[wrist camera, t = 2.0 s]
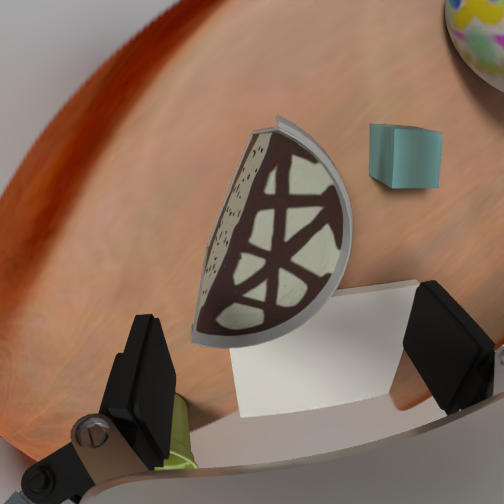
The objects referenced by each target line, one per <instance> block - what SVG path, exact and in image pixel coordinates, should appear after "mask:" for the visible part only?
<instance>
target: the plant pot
mask: <svg viewBox="0 0 504 504" xmlns="http://www.w3.org/2000/svg"><path fill="white" fill-rule="evenodd" d="M196 468H198V465H197V464H196V462H195V461H194V456H193V454H192V452H191V445H190V435H189V424H188V410H187V406H186V403H185V401H184V400H183V399H182V398H181V397H180V396H178V395H177V394H175V397H174V407H173V418H172V430H171V442H170V455H169V459H164V468H161V467H155V471H157V470H174V469H196Z"/></svg>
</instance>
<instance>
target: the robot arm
mask: <svg viewBox="0 0 504 504" xmlns="http://www.w3.org/2000/svg"><path fill="white" fill-rule="evenodd" d="M494 346H495V343H494V342H493V341H492V340H491V339H490V338H489V337H488V335H487V334H486V333H485V332H484V331H483V330H482V329H481V328H480V326H479V325H478V324H477V323H476V322H475V321H474V320H473V319H472V318H471V317H470V316H469V314H468V313H467V312H466V311H465V310H464V309H463V308H462V307H461V306H460V305H459V304H458V303H457V302H456V301H455V300H454V299H453V298H452V297H451V296H450V295H449V293H448V292H447V291H446V290H445V289H444V288H443V287H442V286H441V285H440V284H439V283H438V282H437V281H435V280H432V281H426V282H422V283H420V285H419V287H417V288H416V291H415V296H414V300H413V304H412V308H411V312H410V316H409V320H408V324H407V327H406V331H405V334H404V338H403V347H404V350H405V351H406V353H407V354H408V356H409V358H410V359H411V361H412V362H413V364H414V366H415V367H416V369H417V370H418V372H419V374H420V375H421V377H422V378H423V380H424V382H425V383H426V385H427V387H428V388H429V390H430V392H431V393H432V395H433V397H434V398H435V400H436V402H437V404H438V405H439V407H440V408H441V409H442V410H445V412H446V414H447V416H446V417H444V418H441V419H439V420H437V421H434V422H431V423H428V424H426V425H423V426H421V427H417V428H415V429H412V430H409V431H406V432H403V433H400V434H397V435H393V436H390V437H387V438H384V439H381V440H377V441H373V442H370V443H366V444H363V445H359V446H354V447H350V448H346V449H342V450H338V451H333V452H328V453H324V454H319V455H313V456H309V457H303V458H297V459H291V460H284V461H277V462H270V463H261V464H252V465H241V466H230V467H217V468H196V469H174V470H157V471H155V467H161V468H164V459H169V455H170V442H171V430H172V418H173V407H174V397H175V387H176V373H175V369H174V366H173V363H172V360H171V357H170V354H169V350H168V347H167V344H166V341H165V337H164V334H163V330H162V327H161V323H160V320H159V318H154V316H153V315H152V314H144V315H136V316H135V318H134V321H133V324H132V327H131V330H130V333H129V337H128V340H127V343H126V346H125V349H124V353H118V354H117V355H116V357H115V360H114V363H113V366H112V369H111V372H110V376H109V379H108V382H107V385H106V389H105V392H104V396H103V399H102V403H101V406H100V410H99V413H98V414H97V413H94V414H88V415H85V416H83V417H81V418H80V419H78V420H77V421H76V422H75V424H74V425H73V427H72V429H71V433H70V438H71V442H70V443H68V444H67V445H65V446H64V447H62V448H60V449H59V450H57V451H55V452H54V453H52V454H51V455H49V456H47V457H46V458H44V459H42V460H41V461H39V462H37V463H36V464H34V465H32V466H31V467H30V468H28V469H27V470H26V471H25V473H24V475H23V477H22V481H21V487H22V490H21V491H20V492H19V493H18V492H17V491H15V492H14V493H13V494H12V495H11V496H10V497H9V499H8V500H7V501H6V502H5V503H4V504H504V347H500V348H499V349H497V351H496V352H494V350H493V348H494ZM460 409H461V411H459V410H460Z"/></svg>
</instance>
